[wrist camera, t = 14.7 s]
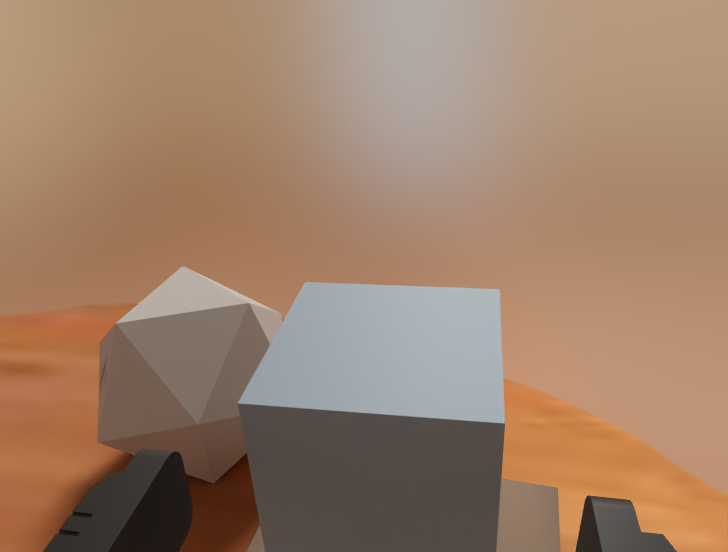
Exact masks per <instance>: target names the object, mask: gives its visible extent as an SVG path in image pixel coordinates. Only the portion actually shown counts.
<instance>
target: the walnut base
mask: <svg viewBox="0 0 728 552" xmlns="http://www.w3.org/2000/svg"><path fill="white" fill-rule="evenodd" d="M247 552H265V549H264V544H263V538H262V533H261V527H260V525H259V527H258V529H257V531H256V533H255V535H254V537H253V539H252V541H251V543H250V545H249V547H248V549H247ZM496 552H560V532H559V506H558V488H555V487H549V486H543V485H537V484H530V483H524V482H518V481H512V480H506V479H501V489H500V504H499V518H498V533H497V548H496Z"/></svg>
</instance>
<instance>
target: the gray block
mask: <svg viewBox="0 0 728 552" xmlns="http://www.w3.org/2000/svg"><path fill="white" fill-rule="evenodd" d="M238 408H239V414H240V419H241V424H242V430H243V435H244V441H245V446H246V451H247V457H248V462H249V468H250V473H251V479H252V484H253V489H254V495H255V500H256V506H257V511H258V517H259V522H260V527H261V533H262V538H263V544H264V549H265V552H496V548H497V533H498V518H499V504H500V489H501V474H502V459H503V444H504V429H505V413H504V388H503V363H502V339H501V314H500V290H499V289H475V288H450V287H422V286H420V287H419V286H395V285H368V284H341V283H314V282H313V283H312V282H305V284H304V285H303V287H302V289H301V291H300V293H299V294H298V296H297V298H296V300H295V301H294V303H293V305H292V307H291V309H290V311H289V312H288V314H287V316H286V318H285V319H284V321H283V323H282V325H281V327H280V328H279V330H278V332H277V334H276V335H275V337H274V339H273V341H272V343H271V344H270V346H269V348H268V350H267V352H266V353H265V355H264V357H263V359H262V361H261V362H260V364H259V366H258V368H257V370H256V371H255V373H254V375H253V377H252V378H251V380H250V382H249V384H248V386H247V387H246V389H245V391H244V393H243V395H242V396H241V398H240V400H239V402H238Z"/></svg>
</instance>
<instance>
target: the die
mask: <svg viewBox="0 0 728 552" xmlns="http://www.w3.org/2000/svg"><path fill="white" fill-rule="evenodd" d="M281 325H282V319H281V314H280V313H279V312H277V311H274V310H272V309H270V308H268V307H266V306H264V305H262V304H260V303H258V302H256V301H254V300H252V299H250V298H247V297H246V296H243V295H242V294H239V293H237V292H235V291H233V290H231V289H229V288H227V287H225V286H223V285H221V284H219V283H217V282H215V281H212V280H211V279H209V278H206V277H204V276H202V275H200V274H198V273H196V272H194V271H192V270H190V269H188V268H186V267H184V266H182V267H181V268H180V269H179V270H178V271H177V272H175V273H174V274H173V275H172V276H171V277H170V278H168V279H167V280H166V281H165V282H164V283H162V284H161V285H160V286H159V287H158V288H157V289H155V290H154V291H153V292H152V293H151V294H150V295H148V296H147V297H146V298H145V299H144V300H143V301H141V302H140V303H139V304H138V305H137V306H136V307H134V308H133V309H132V310H131V311H130V312H128V313H127V314H126V315H125V316H124V317H123V318H121V319H120V320H119V321H118V322H117V323H116V324H115V325H114V326H113V327H112V328H111V330H110V331H109V332H108V333H107V334H106V336H105V337H104V338H103V339H102V340H101V342H100V371H99V411H98V443H101V444H104V445H106V446H109V447H112V448H115V449H118V450H120V451H123V452H126V453H129V454H132V455H135V454H136V453H137V452H138V451H139V450H140V449H142V448H149V449H158V450H168V451H177V452H179V453H180V454H181V456H182V459H183V464H184V468H185V473H186V474H188V475H191V476H193V477H196V478H199V479H202V480H205V481H207V482H210V483H213V484H214V483H215V482H216V481H217V480H218V479H219V478H220V477H221V476H222V475H223V474H224V473H225V472H226V471H228V470H229V469H230V468H231V467H232V466H233V465H234V464H235V463H236V462H237V461H238V460H239V459H241V458H242V457H243V456H244V455H245V454H246V453H247V451H246V446H245V441H244V435H243V430H242V424H241V419H240V414H239V408H238V402H239V400H240V398H241V396H242V395H243V393H244V391H245V389H246V387H247V386H248V384H249V382H250V380H251V378H252V377H253V375H254V373H255V371H256V370H257V368H258V366H259V364H260V362H261V361H262V359H263V357H264V355H265V353H266V352H267V350H268V348H269V346H270V344H271V343H272V341H273V339H274V337H275V335H276V334H277V332H278V330H279V328H280V327H281Z"/></svg>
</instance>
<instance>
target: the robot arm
mask: <svg viewBox="0 0 728 552" xmlns="http://www.w3.org/2000/svg"><path fill="white" fill-rule="evenodd" d="M191 520H192V501H191V496H190V491H189V487H188V482H187V478H186V473H185V468H184V464H183V459H182V456H181V454H180V453H179V452H177V451H168V450H158V449H149V448H142V449H140V450H139V451H138V452H137V453H136V454H135V455H134V457H133V458H132V459H131V461H130V462H129V464H128V465H127V467H126V468H125V469H124V471H123V472H114V471H113V472H111V473H110V474H109V475H107V476H106V477H105V478H104V479H102V480H101V481H100V482H98V483H97V484H96V485H95V486H93V487H92V488H91V489H89V491H88V492H87V493H86V495H85V496H84V497H83V499H82V500H81V501H80V503H79V504H78V505H77V507H76V508H75V509H74V511H73V515H72V516H69V518H68V519H67V520H66V522H65V523H64V524H63V526H62V527H61V528H60V532H59V534H56V535H55V536H54V538H53V539H52V540H51V542H50V543H49V544H48V546H47V547H46V548H45V550H44V551H43V552H179V550H180V548H181V546H182V544H183V542H184V540H185V538H186V536H187V534H188V531H189V528H190V524H191ZM576 552H677V551H676V550H675V549H674V548H673V546H672V545H671V544H670V543H669V541H668V540H667V539H666V537H665V536H664V535H663V534H655V533H646V532H641V530H640V527H639V523H638V520H637V516H636V512H635V509H634V506H633V504H632V502H631V501H630V500H625V499H616V498H606V497H596V496H587V497H586V500H585V504H584V509H583V514H582V520H581V525H580V531H579V536H578V541H577V547H576Z"/></svg>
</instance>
